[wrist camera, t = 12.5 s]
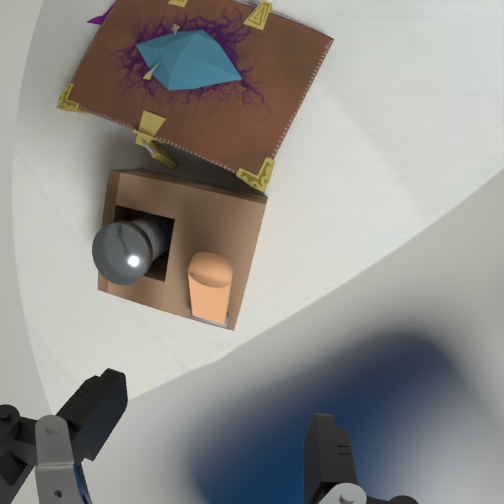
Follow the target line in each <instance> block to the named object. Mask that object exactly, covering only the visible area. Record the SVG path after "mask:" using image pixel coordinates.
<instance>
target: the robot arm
mask: <svg viewBox="0 0 504 504" xmlns="http://www.w3.org/2000/svg"><path fill="white" fill-rule="evenodd" d="M127 402H128V397H127V387H126V377H125V374H124V373H122V372H119V371H116V370H113V369H110V368H108V369H106V370H105V371H104V373H103V374H102V375H101V376H100V377H98V376H96V375H95V376H93V377H91V378H89V379H87V380H86V381H85V382H84V383H83V384H82V385H81V386H80V387H79V389H78V390H77V391H76V392H75V394H74V395H72V397H71V398H70V399H69V400H68V401H67V402H66V403H65V405H64V406H63V407H62V408H61V409H60V410H59V412H58V413H57V414H56V415H46V416H43V417H41V418H40V419H39V420H33V419H29V418H25V417H21V416H20V414H19V412H18V410H17V409H16V408H15V407H13V406H11V405H7V404H5V405H0V504H11V502H12V501H13V499H14V497H15V496H16V494H17V493H18V491H19V489H20V488H21V486H22V485H23V483H24V482H25V480H26V478H27V477H28V475H29V474H30V472H31V471H32V469H33V468H34V466H35V465H36V466H35V477H36V484H37V491H38V497H39V503H40V504H93V503H92V501H91V498H90V494H89V491H88V487H87V484H86V480H85V476H84V473H83V468H82V464H81V462H82V461H83V459H84V458H87V459H89V460H91V461H94V459H95V458H96V456H97V454H98V453H99V451H100V450H101V448H102V446H103V445H104V443H105V442H106V440H107V439H108V437H109V435H110V434H111V432H112V430H113V429H114V427H115V426H116V424H117V423H118V421H119V419H120V418H121V416H122V415H123V413H124V412H125V410H126V407H127ZM303 504H418V503H417V501H416V500H415V499H413V498H411V497H409V496H404V495H403V496H396V497H394V498H392V499H391V500H390V501H385V500H380V499H376V498H372V497H369V496H367V495H366V494H365V492H364V491H363V489H362V488H360V487H359V486H358V484H357V478H356V472H355V466H354V460H353V456H352V448H351V442H350V437H349V435H348V434H347V432H346V431H345V429H344V428H343V427H335V423H334V417H333V415H330V414H318V413H315V414H314V415H313V418H312V421H311V423H310V426H309V428H308V431H307V433H306V436H305V439H304V445H303Z"/></svg>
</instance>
